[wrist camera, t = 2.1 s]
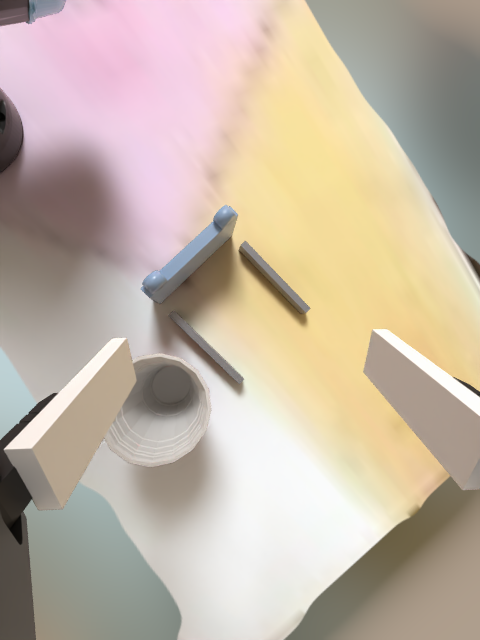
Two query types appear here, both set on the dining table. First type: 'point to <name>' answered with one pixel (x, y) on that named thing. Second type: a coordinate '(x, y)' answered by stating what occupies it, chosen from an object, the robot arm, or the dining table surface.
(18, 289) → the dining table surface
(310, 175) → the dining table surface
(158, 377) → the plastic cup
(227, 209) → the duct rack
